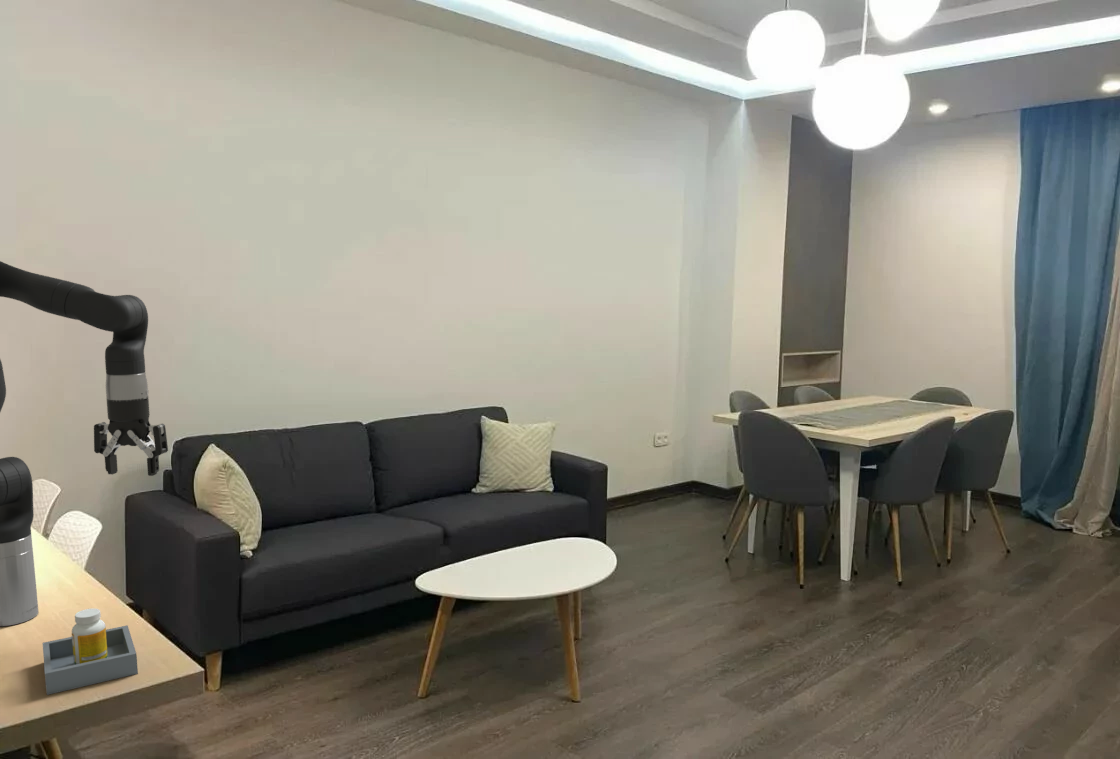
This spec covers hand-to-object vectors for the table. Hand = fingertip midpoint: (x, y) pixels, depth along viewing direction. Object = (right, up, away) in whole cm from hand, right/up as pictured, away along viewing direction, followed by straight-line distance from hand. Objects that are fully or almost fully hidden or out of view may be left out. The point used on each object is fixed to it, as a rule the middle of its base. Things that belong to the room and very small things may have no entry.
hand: (132, 474), depth 174 cm
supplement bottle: (+2, -32, -19) cm, 37 cm away
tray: (+2, -33, -19) cm, 38 cm away
